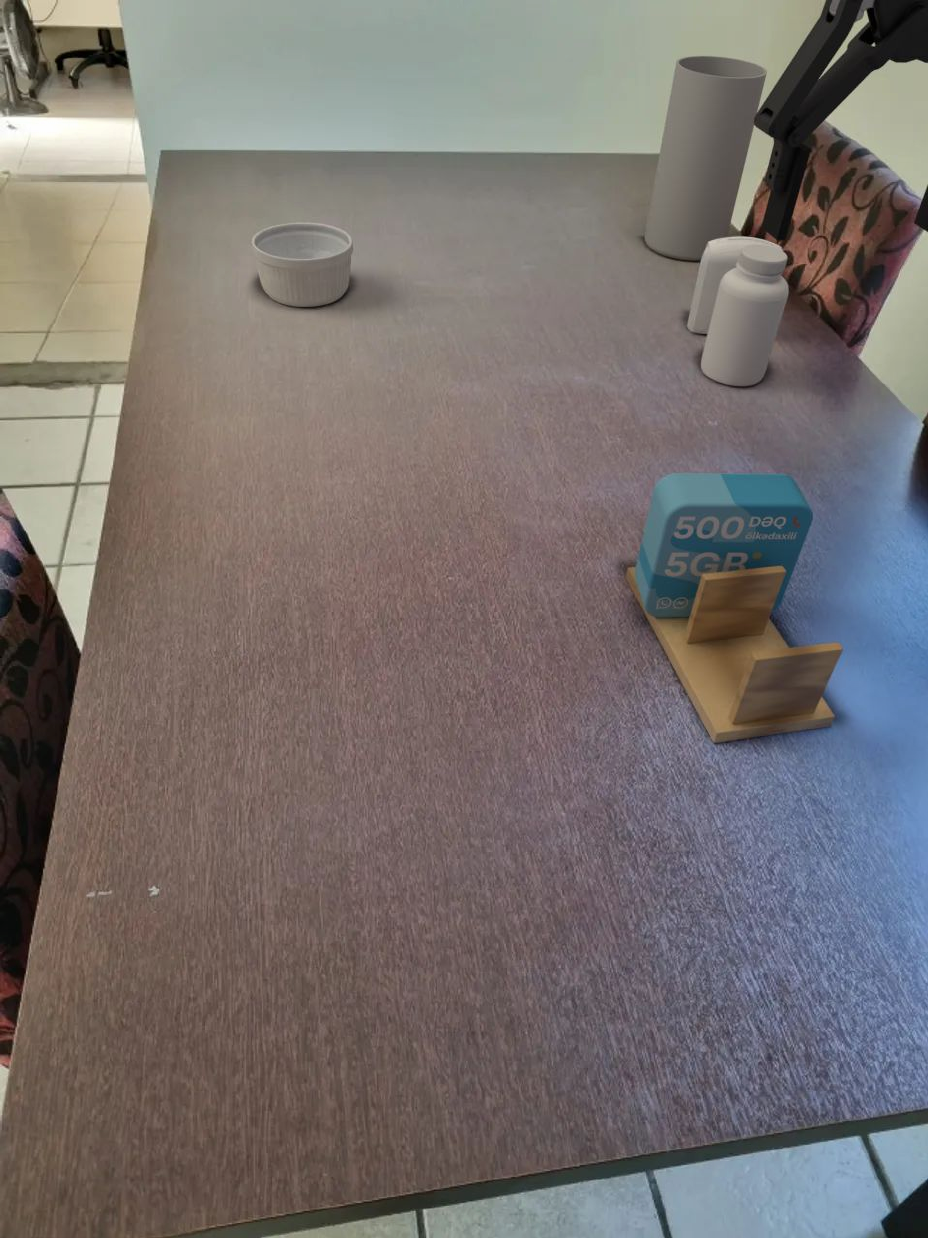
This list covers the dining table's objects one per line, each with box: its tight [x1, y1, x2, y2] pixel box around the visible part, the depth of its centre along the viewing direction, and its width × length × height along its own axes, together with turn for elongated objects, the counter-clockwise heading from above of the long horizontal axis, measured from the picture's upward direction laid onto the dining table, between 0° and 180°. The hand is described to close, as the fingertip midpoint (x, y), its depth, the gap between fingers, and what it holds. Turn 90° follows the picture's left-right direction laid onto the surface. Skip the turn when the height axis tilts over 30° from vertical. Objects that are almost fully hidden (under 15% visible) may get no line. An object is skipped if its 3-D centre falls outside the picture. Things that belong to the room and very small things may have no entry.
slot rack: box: [625, 566, 844, 744], centre depth 77 cm, size 10×20×8 cm, turn 12°
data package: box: [635, 472, 814, 618], centre depth 78 cm, size 12×4×12 cm, turn 94°
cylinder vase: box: [644, 55, 768, 262], centre depth 139 cm, size 12×12×25 cm
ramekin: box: [251, 222, 354, 308], centre depth 126 cm, size 13×13×7 cm
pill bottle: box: [700, 245, 789, 387], centre depth 112 cm, size 8×8×15 cm
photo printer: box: [686, 235, 784, 335], centre depth 122 cm, size 10×4×12 cm, turn 85°
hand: (851, 231), depth 74 cm, fingers open, 13 cm apart
